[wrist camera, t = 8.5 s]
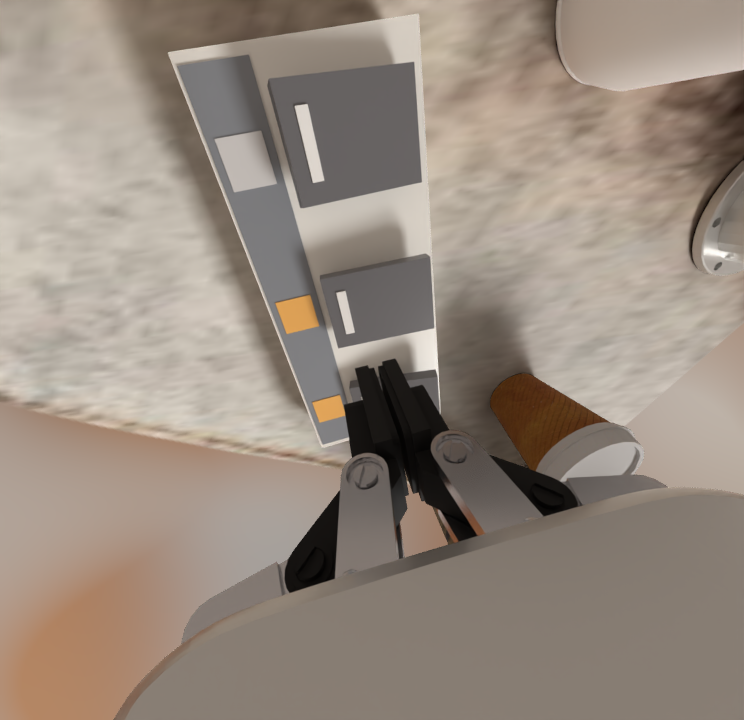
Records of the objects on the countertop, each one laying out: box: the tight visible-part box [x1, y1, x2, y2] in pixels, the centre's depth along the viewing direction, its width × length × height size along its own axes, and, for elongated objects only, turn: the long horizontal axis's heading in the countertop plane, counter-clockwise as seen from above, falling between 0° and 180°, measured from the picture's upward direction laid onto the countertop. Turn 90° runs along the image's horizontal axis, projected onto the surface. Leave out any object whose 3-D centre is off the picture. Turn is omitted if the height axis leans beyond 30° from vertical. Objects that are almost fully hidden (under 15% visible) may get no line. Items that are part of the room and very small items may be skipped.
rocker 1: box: [267, 62, 422, 208], centre depth 15 cm, size 7×5×1 cm
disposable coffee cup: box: [490, 374, 644, 482], centre depth 31 cm, size 10×10×12 cm
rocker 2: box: [349, 369, 440, 413], centre depth 25 cm, size 7×5×1 cm
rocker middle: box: [320, 253, 434, 348], centre depth 20 cm, size 7×5×1 cm
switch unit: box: [167, 14, 441, 448], centre depth 22 cm, size 12×27×5 cm, turn 10°
